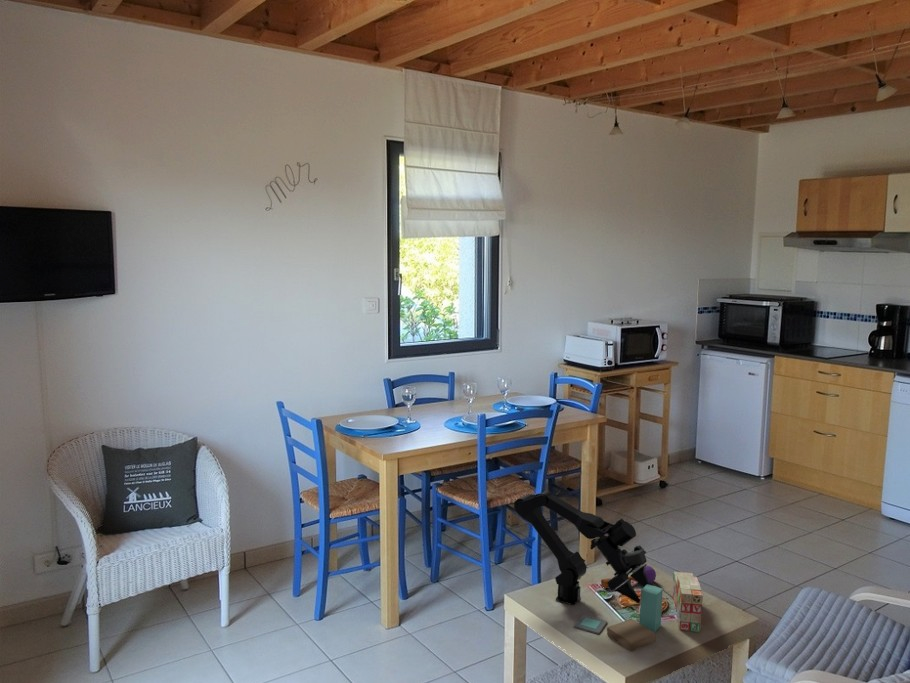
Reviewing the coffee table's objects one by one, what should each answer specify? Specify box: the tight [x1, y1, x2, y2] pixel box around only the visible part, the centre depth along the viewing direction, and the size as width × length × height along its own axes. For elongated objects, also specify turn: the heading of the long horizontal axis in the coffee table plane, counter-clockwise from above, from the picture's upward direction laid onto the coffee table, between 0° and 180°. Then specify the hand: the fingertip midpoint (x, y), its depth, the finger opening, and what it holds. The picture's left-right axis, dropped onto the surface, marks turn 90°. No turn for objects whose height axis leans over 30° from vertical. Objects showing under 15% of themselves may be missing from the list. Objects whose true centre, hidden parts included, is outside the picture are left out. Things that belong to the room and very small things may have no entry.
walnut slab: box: [606, 618, 657, 652], centre depth 216 cm, size 10×10×3 cm
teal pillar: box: [638, 584, 664, 633], centre depth 223 cm, size 5×5×12 cm
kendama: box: [600, 565, 657, 590], centre depth 251 cm, size 6×6×20 cm
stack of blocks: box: [672, 571, 704, 633], centre depth 230 cm, size 21×6×12 cm, turn 169°
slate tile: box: [573, 614, 608, 635], centre depth 224 cm, size 8×8×1 cm
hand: (644, 596), depth 224 cm, fingers open, 9 cm apart
